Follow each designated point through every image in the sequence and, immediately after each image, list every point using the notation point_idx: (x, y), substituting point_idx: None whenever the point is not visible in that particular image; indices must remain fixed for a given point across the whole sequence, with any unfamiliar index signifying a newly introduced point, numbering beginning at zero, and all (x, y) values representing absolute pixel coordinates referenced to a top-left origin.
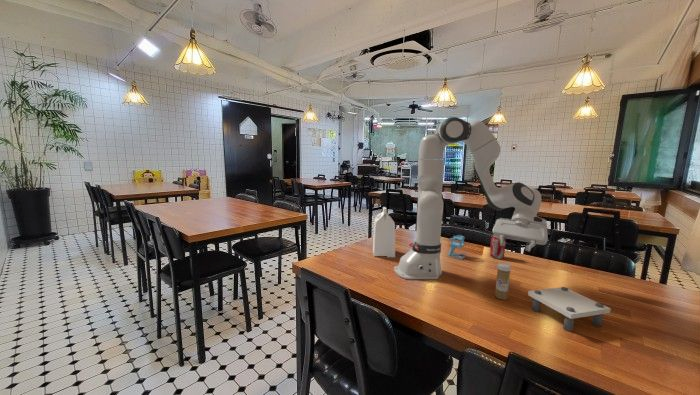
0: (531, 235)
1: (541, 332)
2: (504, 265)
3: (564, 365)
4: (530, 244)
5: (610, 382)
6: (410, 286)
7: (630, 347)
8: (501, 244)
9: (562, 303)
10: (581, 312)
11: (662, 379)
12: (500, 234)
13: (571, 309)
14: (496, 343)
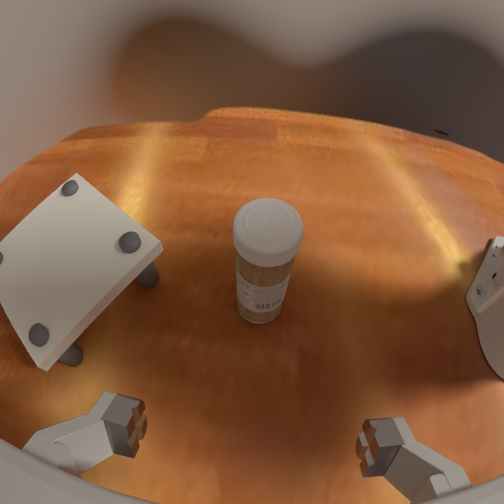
0: (24, 497)
1: (146, 180)
2: (264, 208)
3: (130, 127)
4: (81, 424)
5: (85, 132)
6: (462, 211)
7: (11, 229)
8: (385, 420)
9: (75, 215)
10: (50, 195)
11: (22, 174)
12: (470, 487)
13: (68, 183)
14: (224, 117)
